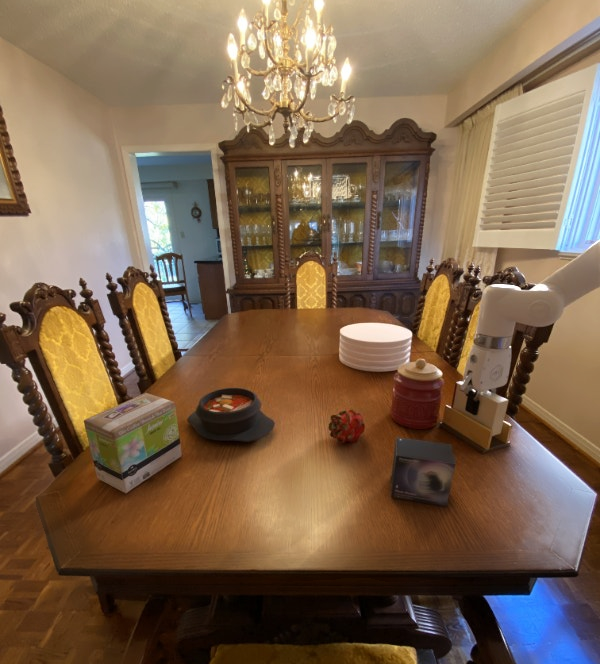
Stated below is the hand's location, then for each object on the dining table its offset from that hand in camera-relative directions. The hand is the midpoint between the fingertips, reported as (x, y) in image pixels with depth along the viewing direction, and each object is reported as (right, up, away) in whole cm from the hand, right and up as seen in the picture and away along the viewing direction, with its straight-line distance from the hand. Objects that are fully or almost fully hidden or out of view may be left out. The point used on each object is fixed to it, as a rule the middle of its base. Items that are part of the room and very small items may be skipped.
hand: (477, 410), depth 86 cm
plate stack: (-14, +14, +56) cm, 59 cm away
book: (0, -3, +1) cm, 4 cm away
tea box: (-80, -12, -8) cm, 81 cm away
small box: (-21, -15, -16) cm, 30 cm away
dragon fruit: (-32, -7, +2) cm, 33 cm away
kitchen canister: (-12, -4, +11) cm, 17 cm away
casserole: (-63, -6, +8) cm, 63 cm away
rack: (0, -7, +3) cm, 7 cm away
